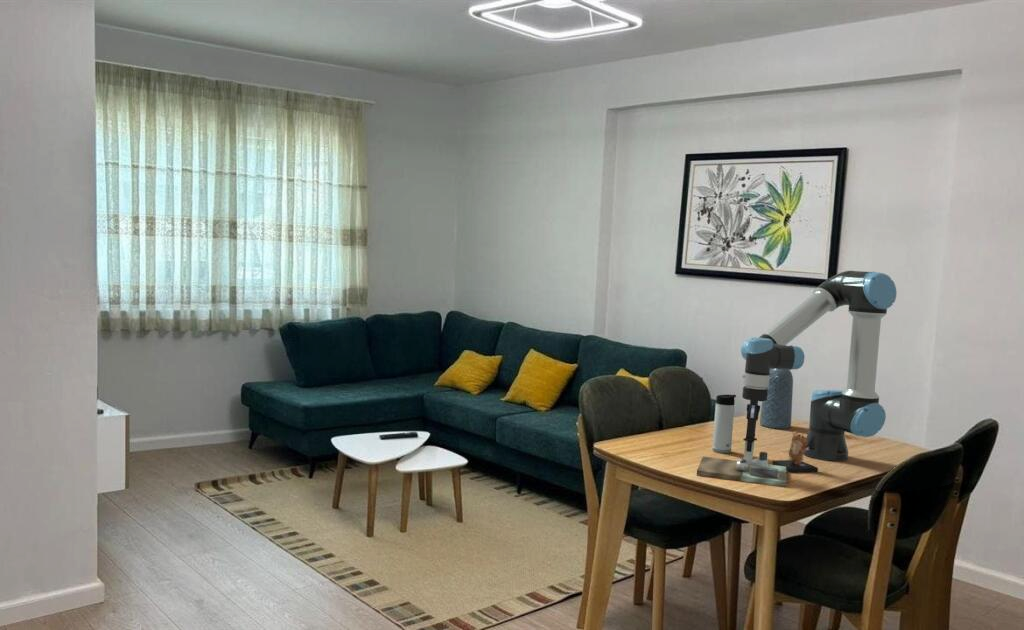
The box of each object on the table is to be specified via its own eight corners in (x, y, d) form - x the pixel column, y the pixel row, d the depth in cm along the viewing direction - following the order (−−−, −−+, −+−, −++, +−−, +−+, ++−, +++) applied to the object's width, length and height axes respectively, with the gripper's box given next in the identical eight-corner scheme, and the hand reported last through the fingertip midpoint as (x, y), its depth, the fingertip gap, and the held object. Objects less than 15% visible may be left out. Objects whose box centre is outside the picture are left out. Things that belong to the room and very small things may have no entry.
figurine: (817, 472, 271) (820, 435, 270) (790, 473, 268) (793, 435, 267) (798, 464, 280) (801, 428, 279) (772, 465, 277) (775, 428, 276)
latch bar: (742, 471, 258) (744, 457, 258) (733, 469, 261) (734, 455, 261) (769, 467, 266) (770, 453, 265) (760, 464, 269) (761, 451, 268)
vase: (761, 427, 339) (767, 358, 336) (757, 422, 351) (763, 354, 348) (793, 430, 337) (798, 360, 335) (788, 424, 349) (793, 356, 346)
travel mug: (732, 454, 289) (736, 396, 287) (712, 452, 290) (716, 394, 289) (731, 450, 295) (735, 393, 294) (712, 448, 296) (716, 392, 295)
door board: (785, 471, 269) (786, 458, 269) (785, 486, 250) (786, 473, 250) (702, 460, 277) (703, 448, 277) (696, 475, 258) (697, 462, 258)
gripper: (744, 382, 272) (736, 454, 274) (742, 388, 259) (734, 463, 261) (768, 385, 270) (760, 458, 272) (767, 391, 257) (759, 467, 259)
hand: (747, 460), depth 266 cm, fingers closed
